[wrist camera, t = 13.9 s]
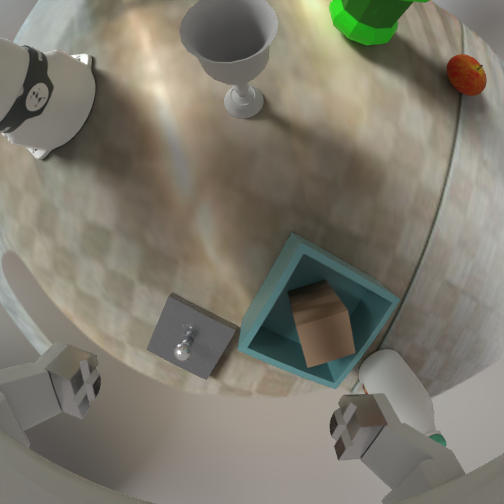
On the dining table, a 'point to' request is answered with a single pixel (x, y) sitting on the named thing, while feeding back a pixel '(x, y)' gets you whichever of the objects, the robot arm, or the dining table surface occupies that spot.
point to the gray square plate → (190, 336)
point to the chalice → (232, 46)
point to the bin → (282, 320)
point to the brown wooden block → (321, 323)
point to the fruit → (466, 75)
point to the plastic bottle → (368, 18)
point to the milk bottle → (400, 391)
